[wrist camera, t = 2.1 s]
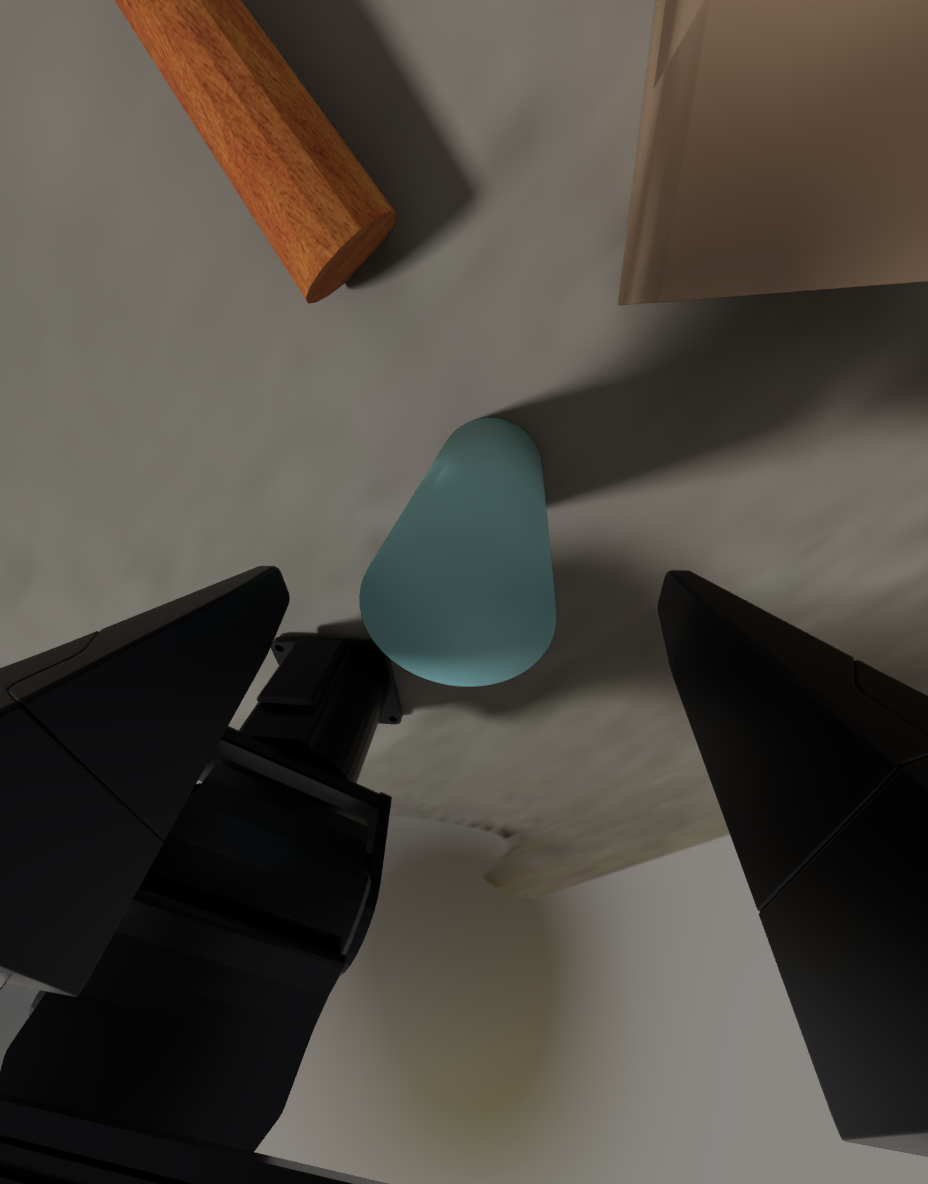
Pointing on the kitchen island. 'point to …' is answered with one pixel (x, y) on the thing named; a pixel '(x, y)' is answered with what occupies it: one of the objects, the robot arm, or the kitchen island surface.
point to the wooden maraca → (267, 137)
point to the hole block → (780, 149)
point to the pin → (468, 564)
